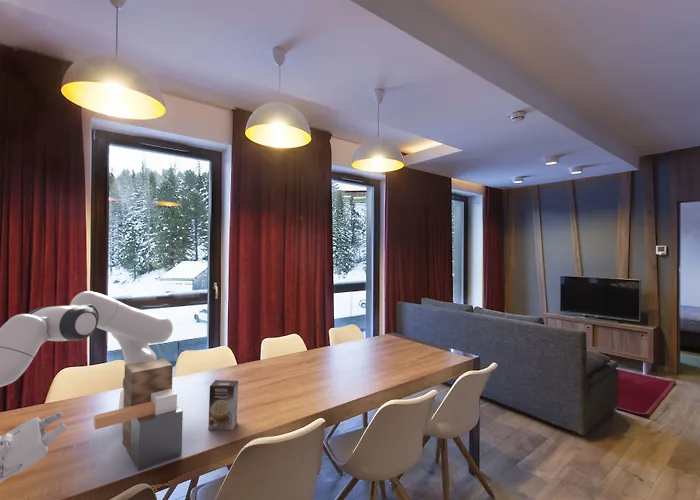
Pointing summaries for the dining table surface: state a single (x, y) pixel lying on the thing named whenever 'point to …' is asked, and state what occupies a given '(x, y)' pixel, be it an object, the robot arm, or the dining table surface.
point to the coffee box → (223, 405)
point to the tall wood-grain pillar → (144, 386)
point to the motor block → (156, 438)
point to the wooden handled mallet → (139, 409)
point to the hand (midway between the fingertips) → (63, 419)
